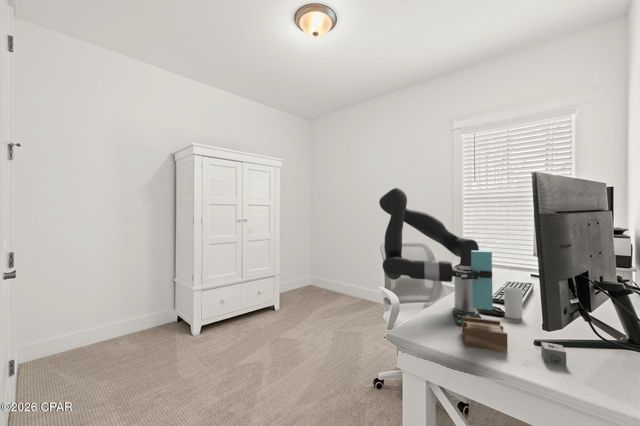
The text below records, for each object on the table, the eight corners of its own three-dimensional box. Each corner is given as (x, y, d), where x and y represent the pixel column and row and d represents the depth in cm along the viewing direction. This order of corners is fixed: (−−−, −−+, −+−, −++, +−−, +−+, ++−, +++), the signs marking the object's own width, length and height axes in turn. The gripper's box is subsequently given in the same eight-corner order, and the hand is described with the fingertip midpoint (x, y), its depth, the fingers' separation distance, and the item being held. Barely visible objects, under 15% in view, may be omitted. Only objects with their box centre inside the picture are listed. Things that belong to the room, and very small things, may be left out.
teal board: (472, 305, 104) (471, 250, 104) (491, 307, 101) (490, 251, 101) (473, 308, 101) (472, 251, 101) (492, 310, 99) (491, 252, 99)
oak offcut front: (467, 342, 98) (467, 325, 98) (501, 347, 94) (501, 329, 94) (468, 345, 96) (468, 327, 96) (502, 350, 92) (502, 331, 92)
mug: (526, 320, 120) (525, 291, 120) (508, 319, 121) (508, 290, 121) (514, 312, 130) (514, 285, 130) (498, 311, 131) (498, 285, 131)
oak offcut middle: (466, 339, 100) (466, 322, 100) (500, 344, 96) (499, 326, 96) (467, 342, 98) (467, 324, 98) (501, 347, 94) (501, 328, 94)
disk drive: (452, 316, 127) (456, 328, 113) (452, 310, 127) (456, 321, 113) (478, 319, 123) (486, 332, 109) (478, 312, 123) (486, 324, 109)
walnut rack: (462, 334, 106) (461, 316, 106) (499, 339, 102) (499, 320, 102) (465, 348, 95) (465, 328, 95) (507, 355, 91) (507, 333, 91)
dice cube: (541, 357, 89) (541, 341, 89) (562, 361, 86) (561, 345, 87) (544, 365, 85) (544, 348, 85) (566, 369, 82) (566, 352, 82)
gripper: (437, 264, 100) (494, 266, 94) (437, 257, 113) (487, 259, 107) (438, 285, 100) (495, 289, 94) (437, 276, 113) (487, 279, 107)
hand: (490, 273), depth 100 cm, fingers closed on teal board, 3 cm apart
